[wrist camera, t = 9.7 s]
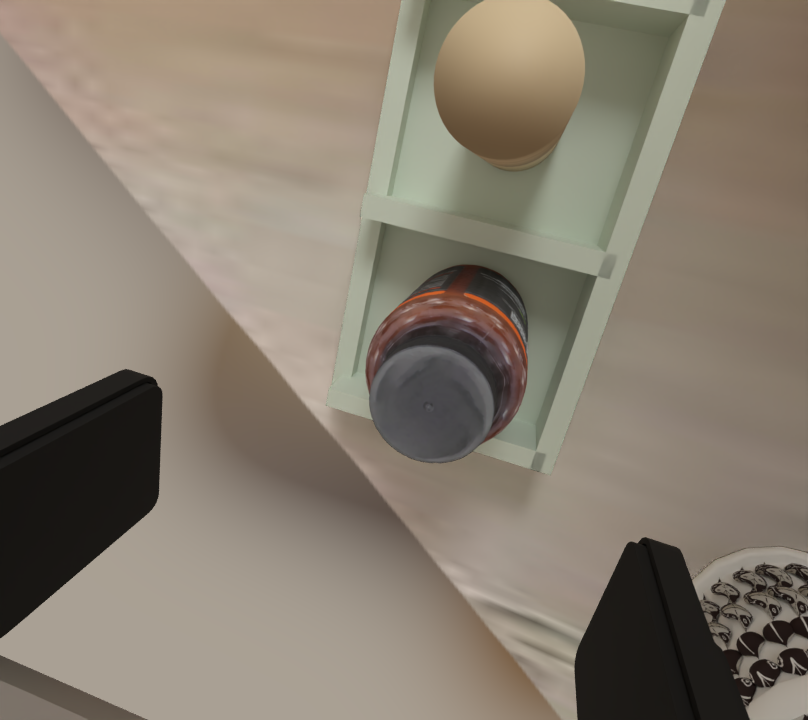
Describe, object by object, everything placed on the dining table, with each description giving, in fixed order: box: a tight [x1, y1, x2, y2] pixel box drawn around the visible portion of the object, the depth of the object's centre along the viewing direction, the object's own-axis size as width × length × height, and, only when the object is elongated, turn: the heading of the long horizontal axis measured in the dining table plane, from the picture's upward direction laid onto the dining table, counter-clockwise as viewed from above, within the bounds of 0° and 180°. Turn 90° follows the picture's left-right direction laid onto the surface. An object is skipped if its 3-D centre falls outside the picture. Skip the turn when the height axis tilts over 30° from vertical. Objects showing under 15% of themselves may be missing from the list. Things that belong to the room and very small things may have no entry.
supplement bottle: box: [365, 264, 528, 463], centre depth 21 cm, size 6×6×11 cm
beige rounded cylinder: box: [434, 0, 585, 172], centre depth 19 cm, size 4×4×10 cm
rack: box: [326, 0, 726, 476], centre depth 24 cm, size 20×12×4 cm, turn 168°
